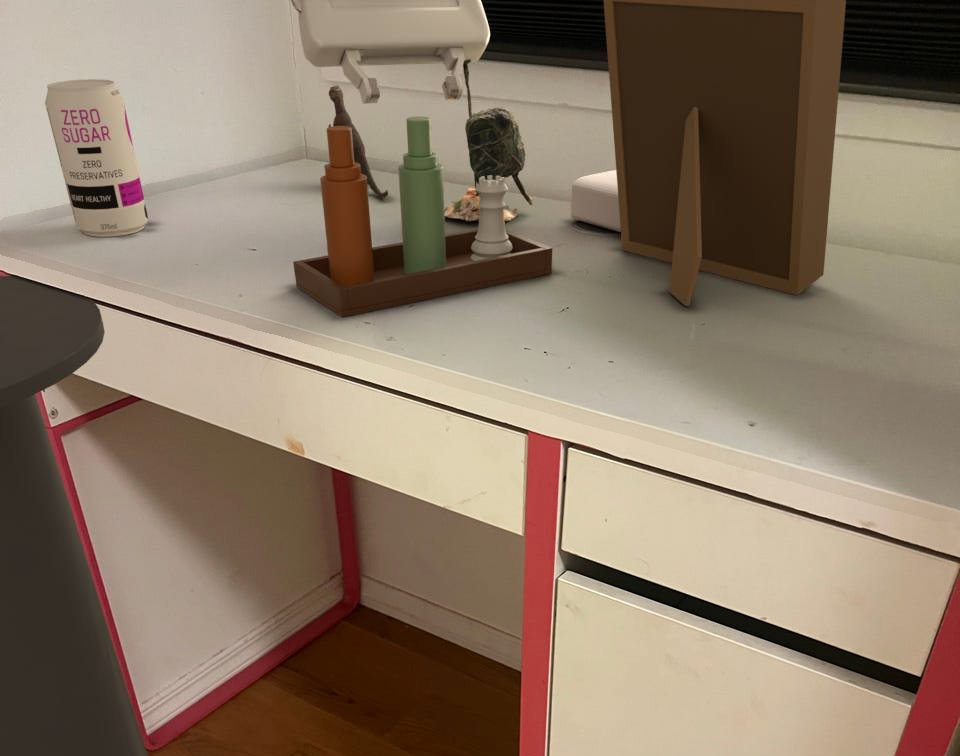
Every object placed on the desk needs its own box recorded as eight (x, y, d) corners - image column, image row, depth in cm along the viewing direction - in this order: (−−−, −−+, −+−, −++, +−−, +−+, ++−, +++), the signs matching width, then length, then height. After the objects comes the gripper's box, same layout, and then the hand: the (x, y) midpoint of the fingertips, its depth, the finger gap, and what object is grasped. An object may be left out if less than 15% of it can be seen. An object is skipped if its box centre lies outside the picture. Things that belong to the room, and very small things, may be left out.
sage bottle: (417, 284, 93) (409, 124, 85) (397, 273, 96) (387, 117, 88) (454, 277, 95) (449, 119, 87) (433, 266, 98) (427, 113, 90)
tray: (342, 317, 88) (339, 289, 86) (296, 287, 95) (292, 261, 93) (551, 273, 97) (552, 248, 96) (495, 249, 105) (495, 225, 103)
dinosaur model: (337, 81, 125) (401, 102, 116) (346, 177, 133) (407, 204, 124) (310, 86, 123) (373, 108, 114) (321, 183, 131) (381, 210, 122)
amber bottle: (343, 299, 90) (327, 134, 82) (324, 287, 93) (307, 126, 84) (382, 291, 92) (371, 128, 83) (363, 280, 95) (350, 121, 86)
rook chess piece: (490, 271, 97) (490, 185, 92) (461, 261, 99) (459, 178, 94) (522, 261, 99) (523, 178, 94) (493, 253, 102) (492, 171, 97)
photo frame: (647, 242, 106) (671, -33, 91) (821, 285, 93) (883, -26, 78) (555, 270, 98) (565, -25, 83) (732, 322, 85) (782, -17, 70)
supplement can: (134, 216, 118) (103, 76, 109) (160, 230, 112) (130, 84, 103) (68, 227, 114) (31, 83, 105) (92, 242, 109) (55, 91, 99)
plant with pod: (504, 233, 110) (505, 27, 97) (429, 218, 115) (421, 22, 103) (544, 218, 115) (550, 21, 102) (471, 205, 120) (468, 16, 108)
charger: (664, 248, 104) (570, 221, 113) (719, 233, 108) (624, 209, 118) (669, 202, 101) (572, 178, 110) (726, 188, 106) (628, 167, 115)
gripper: (287, -55, 93) (325, 82, 93) (475, -51, 101) (510, 76, 101) (277, -8, 99) (313, 121, 99) (456, -8, 107) (488, 112, 107)
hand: (414, 98), depth 100 cm, fingers open, 8 cm apart
